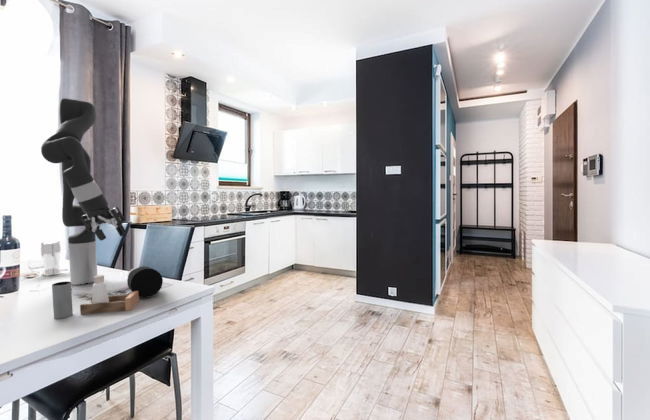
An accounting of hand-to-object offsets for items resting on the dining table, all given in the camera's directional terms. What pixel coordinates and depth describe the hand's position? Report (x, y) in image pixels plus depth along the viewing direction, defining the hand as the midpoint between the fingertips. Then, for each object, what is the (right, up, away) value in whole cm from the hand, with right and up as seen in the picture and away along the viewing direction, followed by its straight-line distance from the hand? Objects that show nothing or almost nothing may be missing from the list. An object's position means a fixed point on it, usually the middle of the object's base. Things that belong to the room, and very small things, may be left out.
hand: (113, 237), depth 115 cm
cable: (+3, -22, +12) cm, 25 cm away
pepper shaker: (+3, -23, -10) cm, 25 cm away
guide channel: (+6, -23, -10) cm, 25 cm away
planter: (-5, -23, -16) cm, 29 cm away
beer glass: (-52, -21, +35) cm, 67 cm away
